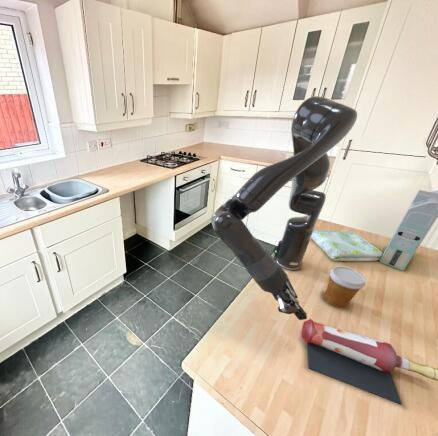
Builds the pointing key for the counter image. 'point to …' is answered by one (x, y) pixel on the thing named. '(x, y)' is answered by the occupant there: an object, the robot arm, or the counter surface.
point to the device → (411, 230)
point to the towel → (346, 246)
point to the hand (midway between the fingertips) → (303, 317)
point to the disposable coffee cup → (343, 285)
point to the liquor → (362, 349)
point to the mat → (352, 372)
